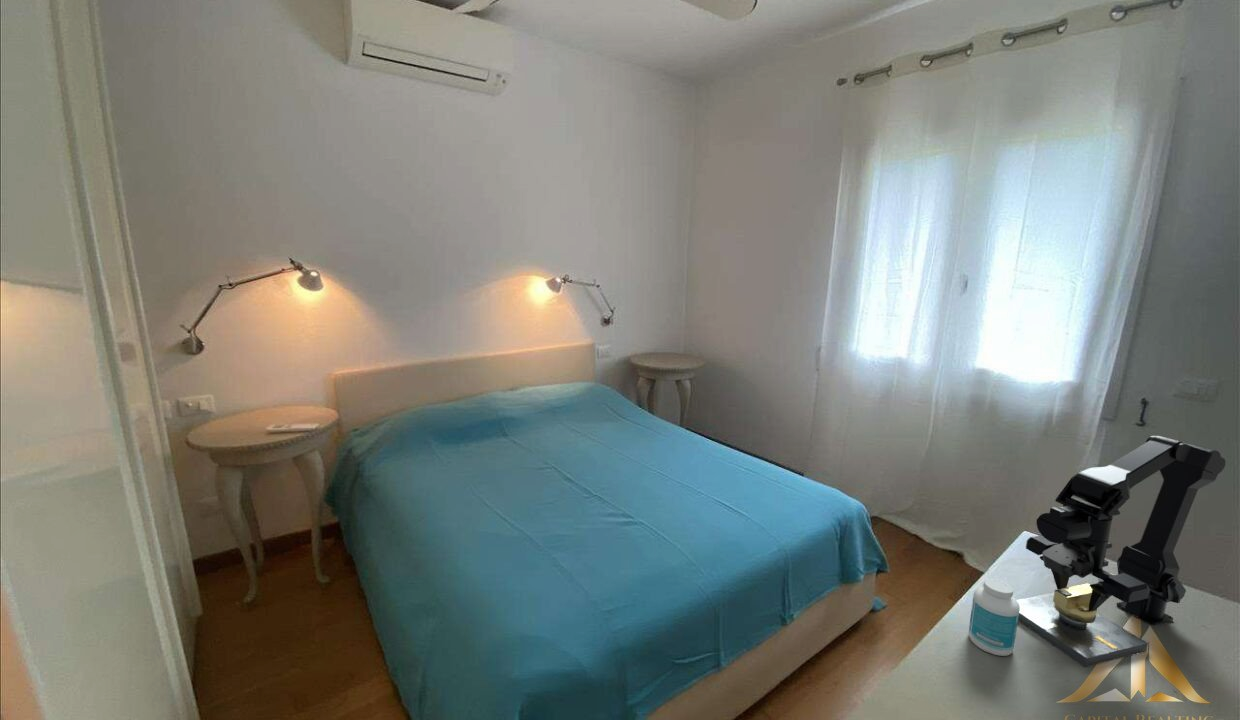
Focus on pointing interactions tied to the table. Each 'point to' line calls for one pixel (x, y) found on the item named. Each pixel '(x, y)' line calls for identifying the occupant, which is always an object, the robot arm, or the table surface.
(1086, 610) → the brass lock knob
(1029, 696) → the table surface
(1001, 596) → the pill bottle
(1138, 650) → the lock base
